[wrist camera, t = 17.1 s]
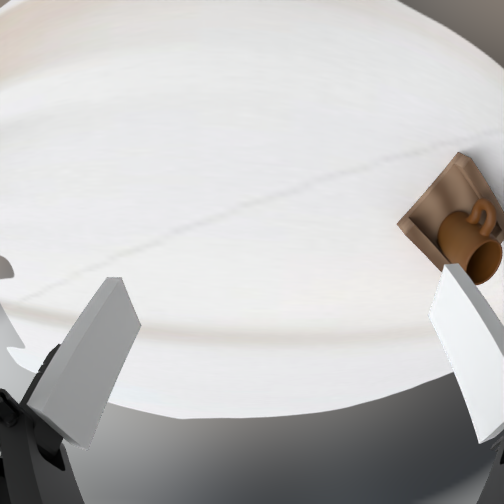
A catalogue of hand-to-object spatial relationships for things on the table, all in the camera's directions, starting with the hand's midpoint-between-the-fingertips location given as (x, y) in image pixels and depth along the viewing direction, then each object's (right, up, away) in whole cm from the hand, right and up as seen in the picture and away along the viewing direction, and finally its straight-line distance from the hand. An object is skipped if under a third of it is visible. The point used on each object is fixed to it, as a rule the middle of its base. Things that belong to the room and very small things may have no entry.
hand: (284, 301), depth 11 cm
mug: (+30, +7, +26) cm, 40 cm away
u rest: (+31, +7, +27) cm, 42 cm away
